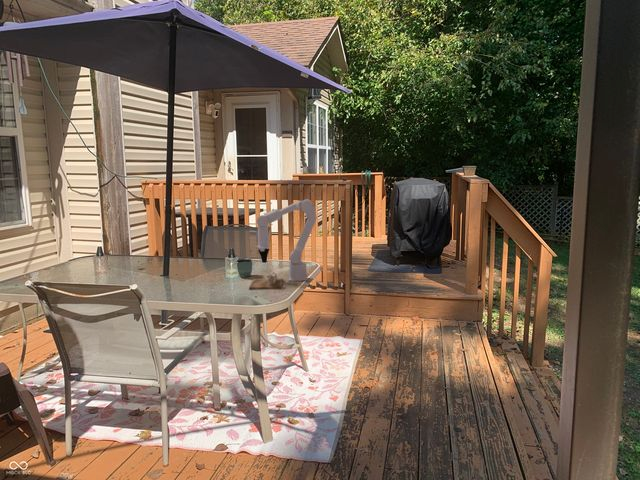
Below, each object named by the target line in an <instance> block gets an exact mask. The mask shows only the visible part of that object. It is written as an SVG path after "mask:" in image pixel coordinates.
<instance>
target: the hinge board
mask: <svg viewBox="0 0 640 480" xmlns="http://www.w3.org/2000/svg"><path fill="white" fill-rule="evenodd" d="M276 274H277V273H275V274H272V273H267V274H266V275H267V276H266V278H264V279H263V278H262V279H253V280H252V282H251V283H250V285H249V287H248V290H280V289H282V285H283V282H284V278H277V280H276V281H275V283H274V284H273V278H275V276H276ZM268 278H269V284H268Z"/></svg>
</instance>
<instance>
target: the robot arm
mask: <svg viewBox="0 0 640 480" xmlns="http://www.w3.org/2000/svg"><path fill="white" fill-rule="evenodd" d="M301 210H302V211H303V213H304V214H305V217H306V222H305V224H304V226H303V228H302V231H301V232H300V236H299V238H298V240H297V243H296V245H295V247H294V249H293V250H292V251H291V252H290V255H289V258H288V259H289V269H288V270H289V278H288V281H289V282H295V281H296V282H297V281H298V282H299V281H302V282H303V281H307V277H308V273H307V263H305V262H303V261H302V257H303V256H302V255H303V254H302V253H303V251H304V249H305V247H306V244H307V242H308V239H309V238H310V235H311V233H312V230H313V228H314V225H315V223H316V222H317V213H316V207H315V205H314V203H313V201H312V200H311V199H308V198H305V199H304V200H299V201H296V202H293V203H291V204H289V205H288V206H286V207H283V208H281V209H277V208H276V209H274V208H272V209H271V210H270V211H268V212H267V213H266V212H264V213H263V214H262V215H260V216H258V217H257V219H256V224H257V240H258V242H257V243H258V244H257V245H256V246H255V247H256V248H259V249H258V251H257V252H258V253H259V255H260V259H261V262H262V263H263V264H264V263H265V264H266V263H268V255H269V251H270V238H269V236H270V235H269V227H268V226H269V224H272V223H274V222H276V221H278V220H281V219H282V216H284V215H286V214H289V213H291V212H293V211H301Z"/></svg>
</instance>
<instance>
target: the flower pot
mask: <svg viewBox="0 0 640 480" xmlns="http://www.w3.org/2000/svg"><path fill="white" fill-rule="evenodd" d="M236 260H237V261H236ZM236 260H235V261H236V263H235V264H236V269H237V273H238V275H239V276H240V277H241V278H248V277H251V275H252V271H253V259H252V258H246V259H236ZM237 262H238V263H237Z"/></svg>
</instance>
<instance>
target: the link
mask: <svg viewBox="0 0 640 480" xmlns="http://www.w3.org/2000/svg"><path fill="white" fill-rule="evenodd" d="M271 274H276V276H275V278H273V284H274V283H275V281H276V280H277V279H278V274H277V273H276V272H271ZM267 279H268V284H269V278H267Z"/></svg>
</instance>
